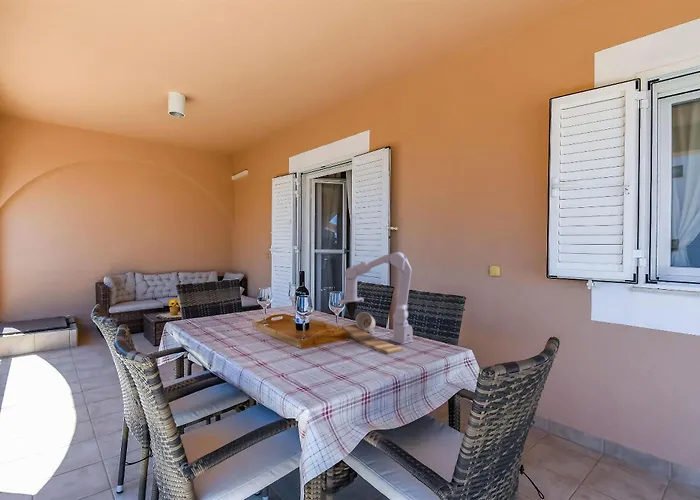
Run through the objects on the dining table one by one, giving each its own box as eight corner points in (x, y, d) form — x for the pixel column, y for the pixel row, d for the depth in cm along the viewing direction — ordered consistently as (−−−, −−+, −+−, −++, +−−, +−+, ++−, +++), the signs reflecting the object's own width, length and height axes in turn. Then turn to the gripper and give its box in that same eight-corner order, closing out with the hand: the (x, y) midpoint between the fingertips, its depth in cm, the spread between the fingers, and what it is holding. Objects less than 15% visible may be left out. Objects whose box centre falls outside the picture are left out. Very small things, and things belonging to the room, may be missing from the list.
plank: (373, 339, 183) (374, 337, 183) (359, 342, 178) (359, 340, 178) (355, 326, 195) (355, 323, 195) (341, 328, 190) (342, 325, 190)
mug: (356, 322, 202) (352, 318, 192) (369, 312, 203) (365, 308, 192) (369, 339, 198) (365, 337, 187) (382, 329, 198) (378, 327, 187)
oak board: (402, 350, 167) (402, 347, 167) (388, 354, 161) (388, 350, 161) (374, 340, 183) (374, 337, 183) (360, 343, 177) (360, 340, 177)
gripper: (358, 288, 197) (357, 313, 198) (335, 290, 189) (335, 316, 189) (366, 290, 192) (365, 315, 192) (343, 292, 183) (343, 319, 184)
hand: (351, 316), depth 190 cm, fingers closed
